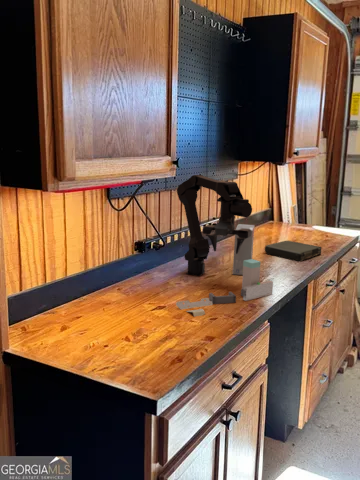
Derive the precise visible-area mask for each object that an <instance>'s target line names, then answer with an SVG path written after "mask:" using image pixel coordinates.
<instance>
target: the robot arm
mask: <svg viewBox="0 0 360 480" xmlns="http://www.w3.org/2000/svg"><path fill="white" fill-rule="evenodd" d="M201 188H206V189H208V190H212V191H214V192H215V193H216V194H217V195H218V196H219V198H217V200H216V201H217V202H220V211H219V213H220V214H219V215H220V216H219V218H218V222H217V223H216V225H212V224H207V225H205V226H203V228H201V223H200V219H199V214H198V210H197V205H196V203H197V199H198V192H199V191H200V190H201ZM176 193H177V197H178V200H179V201H180V203H181V204H182V205H183V207H184V213H185V217H186V222H187V226H188V231H189V237H190V239H189V243H188V251H186V253H185V254H184V255H183V257H184V259H185V261H187V272H185V275H192V276H202V275H203V274H205V271H206V263H205V260H207V259H208V256H209V253H210V248H211V247H210V244H209V240H210V242H211V245H212V248H213V252H216V251H217V248H218V247H217V241H218V236H223V237H226V236H228V235H234V236H235V235H238V236H239V237H238V238H237V247H236V254H238V252H239V250H240V247H241V245H242V243H243V241H244V240H245V239H247V238H249V237H250V236H251V230H250V229H245V228H241V229H240V230H236V226H235V220H236V217H241V218H249V217H250V216H251V215H252V212H253V207H252V204H251V203H250V200H249V199H248V198H244V197H243V194H242V192H241V190H240V187H239V186H238V183H237V182H236V181H223V180H221V181H220V180H218V179H214V178H211V177H208V176H205V175H202V174H193V175H191V176H190V177H189V178H188V179H186V180H184V181H183V182H182V183H181V184H179V185H178V186H177V188H176ZM203 234H204V235H205V236H206V237H208V238H205V237H204V236H203Z"/></svg>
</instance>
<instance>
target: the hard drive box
mask: <svg viewBox="0 0 360 480" xmlns="http://www.w3.org/2000/svg"><path fill="white" fill-rule="evenodd" d="M241 228H245V229H250V230H251V236H250V237H249V238H247V239H245V240H244V241H243V243H242V245H241V247H240V250H239V252H238V254H236V247H237V238H238V237H239V236H238V235H234V245H233V257H232V258H233V261H232V275H237V276H243V261H244V260H249V259H253V257H254V256H253V253H254V239H255V237H254V236H255V235H254V234H255V224H243V223H242V224H241V223H239V224H237V226H236V227H235V230H240V229H241Z"/></svg>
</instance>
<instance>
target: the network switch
mask: <svg viewBox="0 0 360 480" xmlns="http://www.w3.org/2000/svg"><path fill="white" fill-rule="evenodd" d="M264 252H265V253H266V255H269V256H272V257H277V258H278V257H279V258H282V259H286V260H290V261H295V262H298V263H299V262H302V261H304V260H307V259H310V258H313V257H315V256H321V254H322V246H318V245H314V244H307V243H303V242H296V241H292V240H283V241H278V242H276V243H275V242H274V243H270V244H267V245H265V247H264Z"/></svg>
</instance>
